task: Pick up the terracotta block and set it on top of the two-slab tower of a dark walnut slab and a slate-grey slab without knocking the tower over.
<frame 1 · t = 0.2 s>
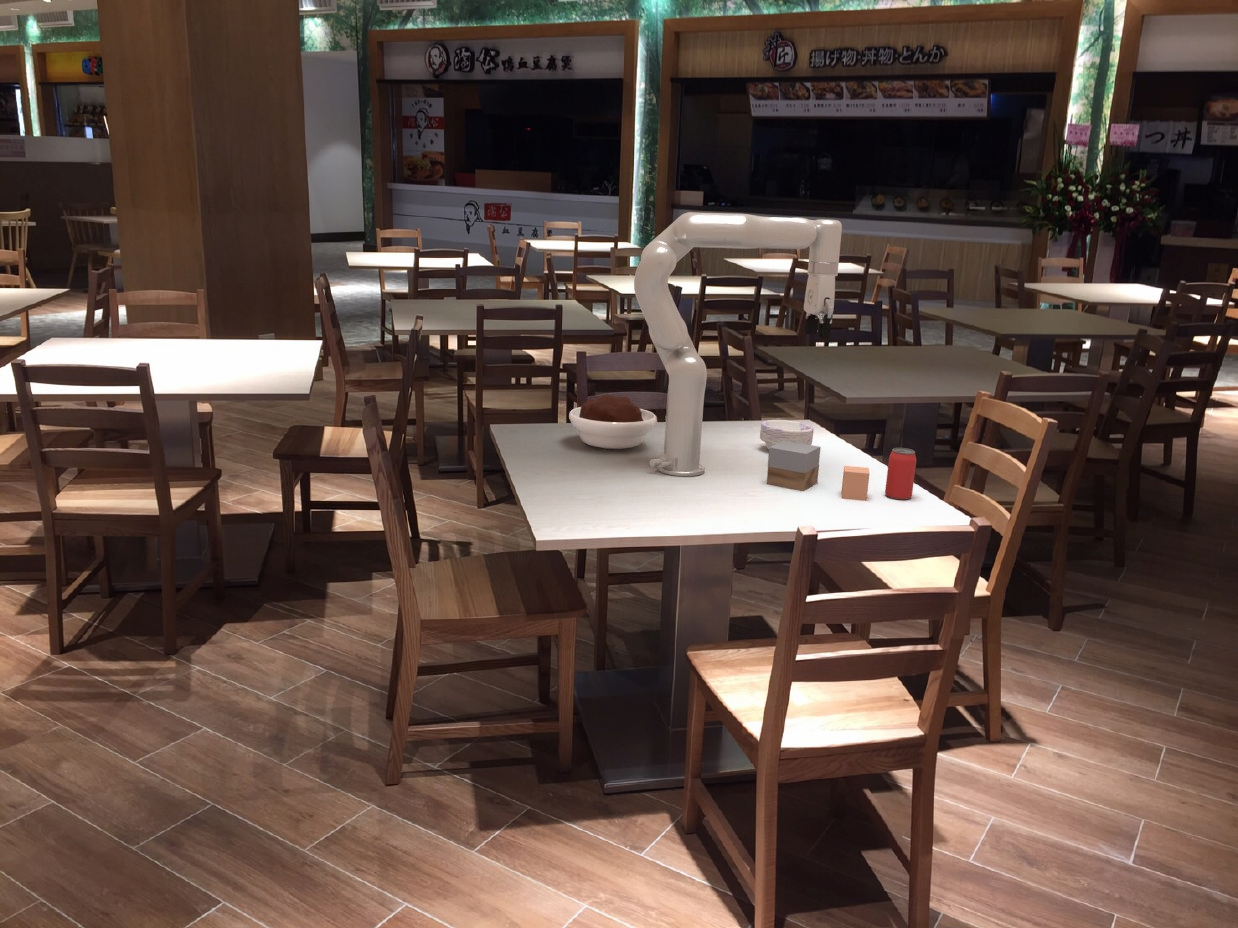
hand: (817, 336, 265), 37 cm above the table, tool pointing down, fingers open, 9 cm apart
paper bowls: (784, 451, 300), on the table
bowl of brown food: (611, 446, 296), on the table
beer can: (898, 497, 258), on the table
slate slab: (793, 465, 264), point 5 cm above the table, touching walnut slab
walnut slab: (791, 484, 265), on the table, touching slate slab
terracotta block: (853, 496, 256), on the table
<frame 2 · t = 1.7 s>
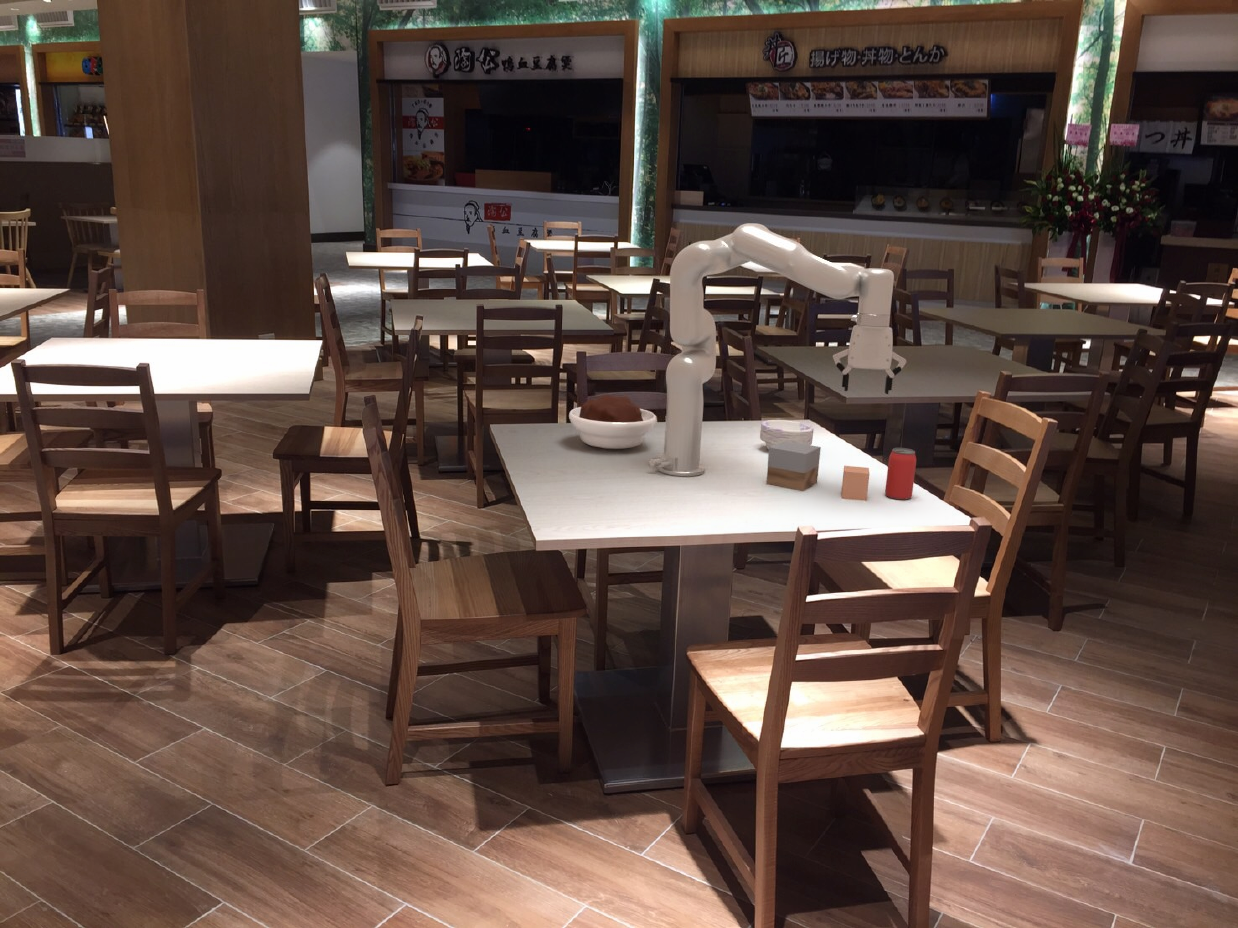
hand: (866, 391, 249), 27 cm above the table, tool pointing down, fingers open, 9 cm apart
nothing on the table moved.
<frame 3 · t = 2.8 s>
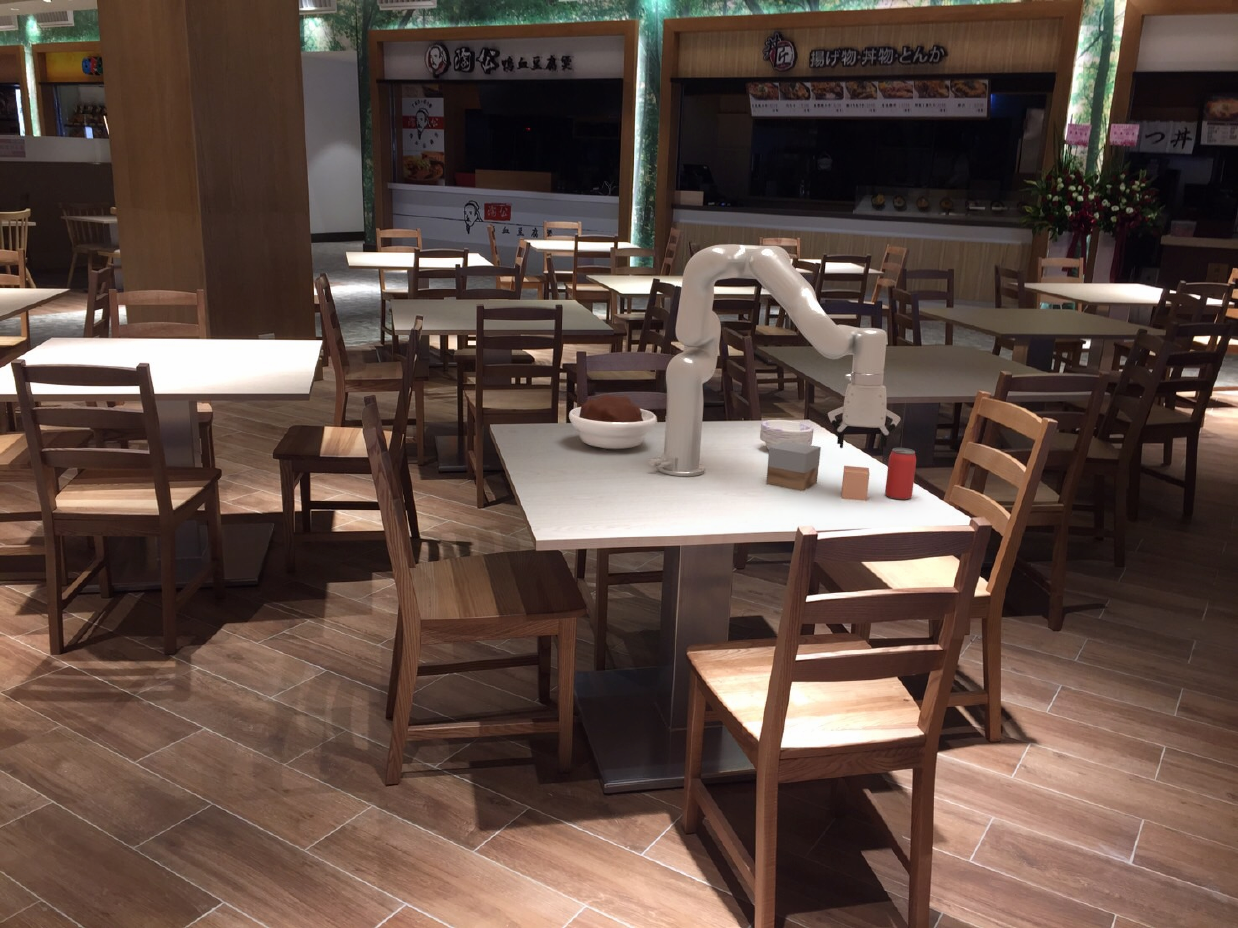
hand: (861, 448, 253), 12 cm above the table, tool pointing down, fingers open, 9 cm apart
nothing on the table moved.
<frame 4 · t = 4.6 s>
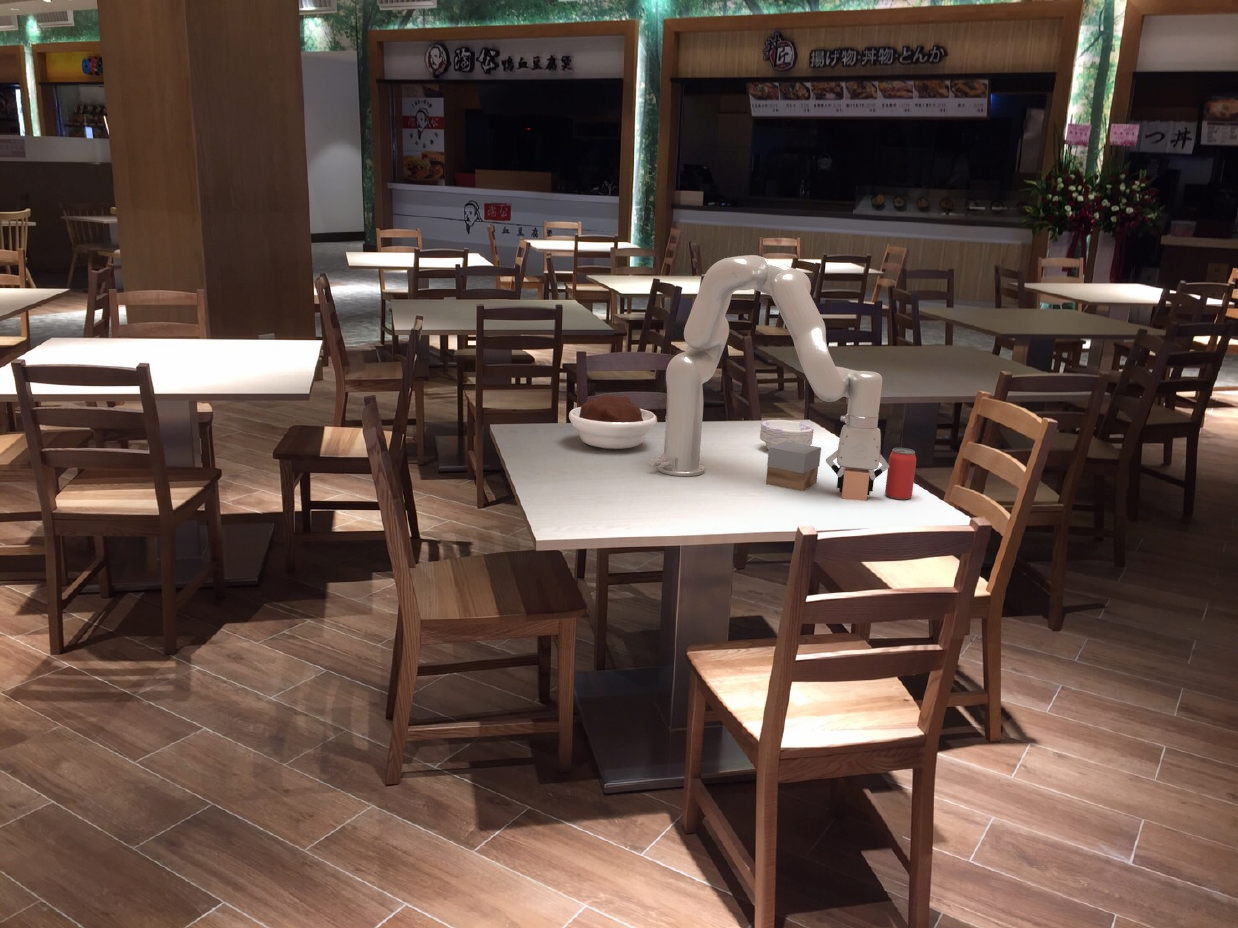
hand: (854, 491, 256), 1 cm above the table, tool pointing down, fingers closed on terracotta block, 6 cm apart
terracotta block: (853, 496, 256), on the table, touching gripper
everything else where it was.
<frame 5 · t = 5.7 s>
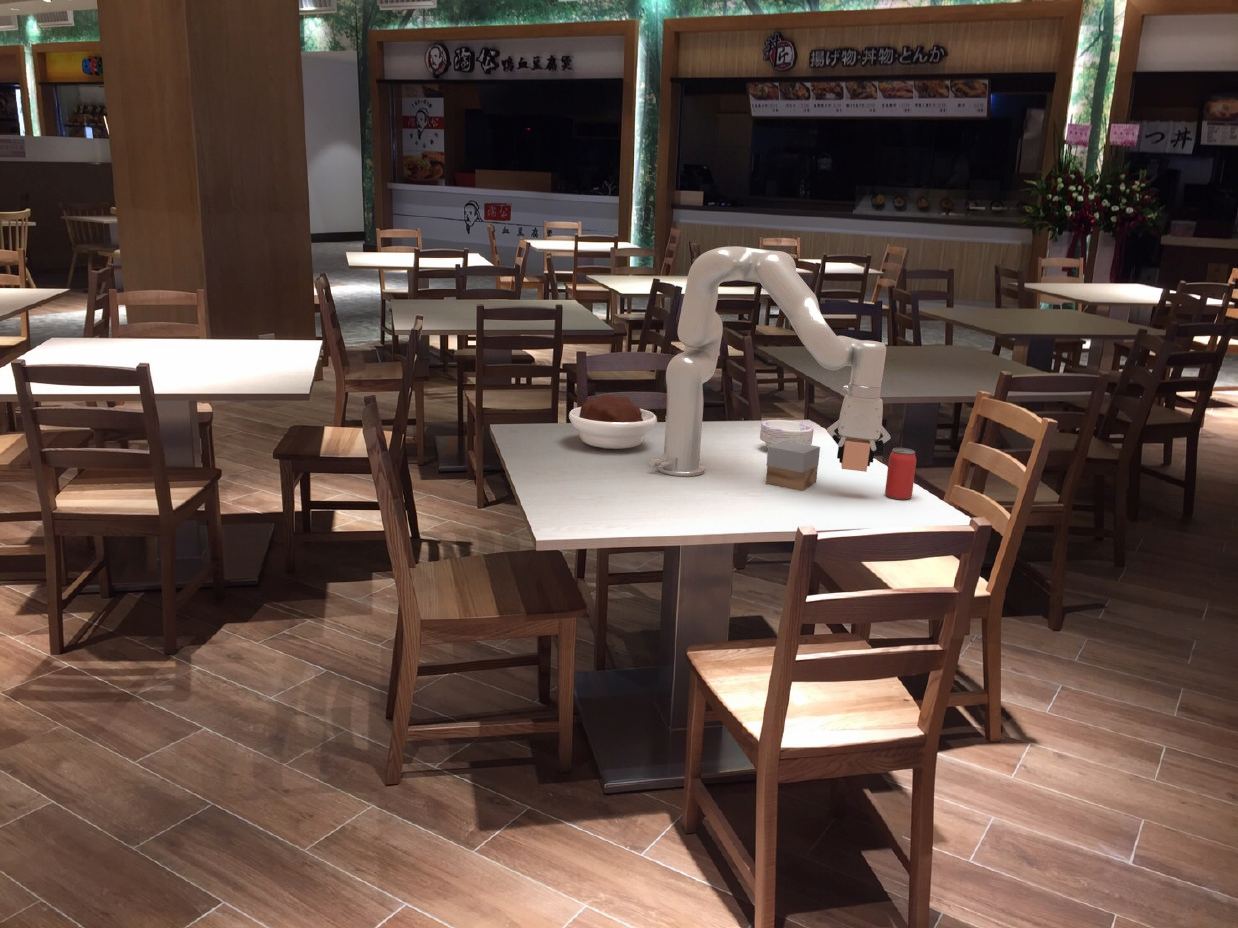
hand: (854, 462, 254), 9 cm above the table, tool pointing down, fingers closed on terracotta block, 6 cm apart
terracotta block: (853, 467, 254), point 7 cm above the table, touching gripper
everything else where it was.
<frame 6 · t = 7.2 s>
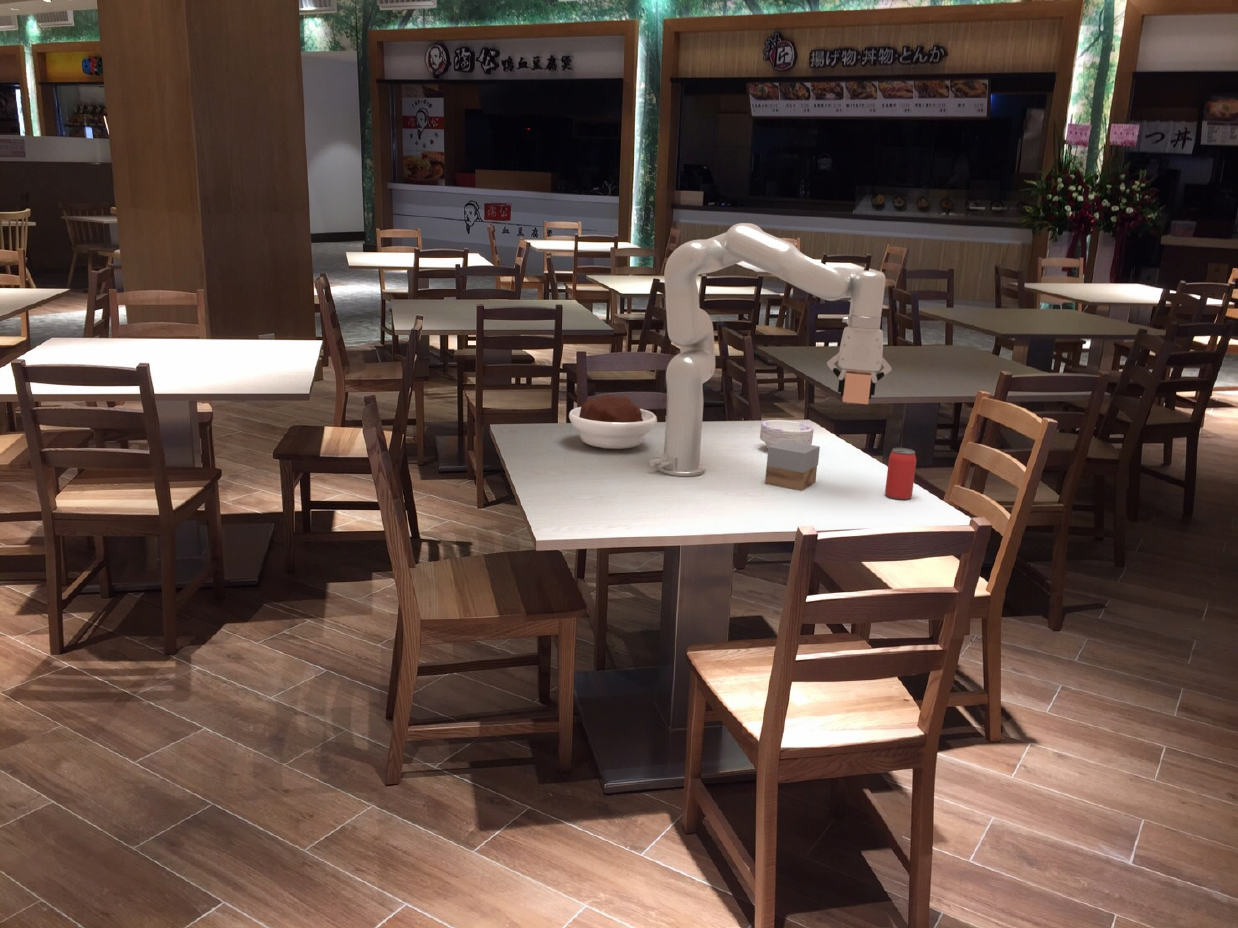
hand: (855, 396, 251), 25 cm above the table, tool pointing down, fingers closed on terracotta block, 6 cm apart
terracotta block: (855, 400, 251), point 24 cm above the table, touching gripper
everything else where it was.
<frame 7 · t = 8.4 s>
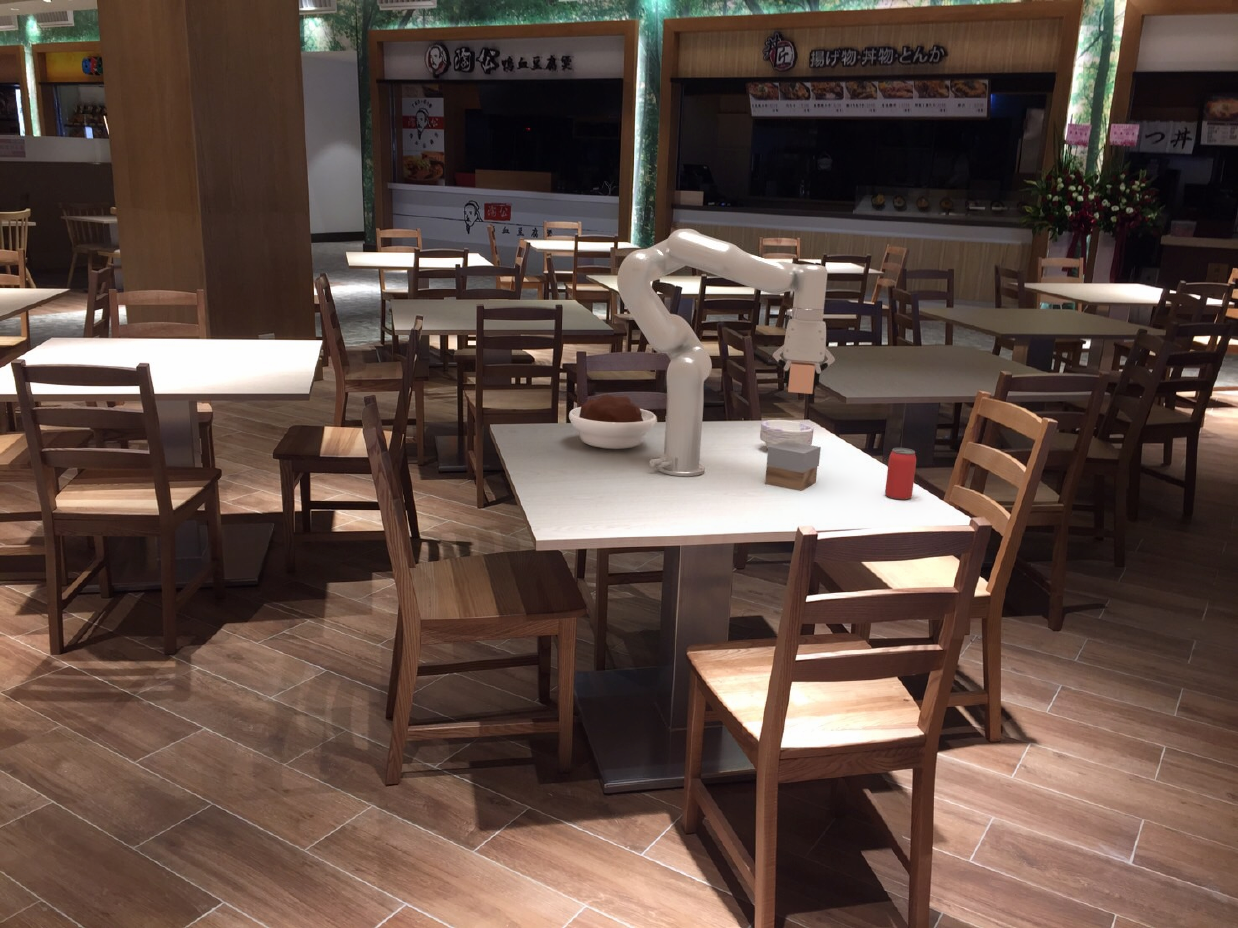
hand: (800, 386, 258), 25 cm above the table, tool pointing down, fingers closed on terracotta block, 6 cm apart
terracotta block: (800, 390, 259), point 24 cm above the table, touching gripper
everything else where it was.
when the fingers open (12 cm above the table, at t = 13.4 s): terracotta block moves 1 cm, resting on slate slab.
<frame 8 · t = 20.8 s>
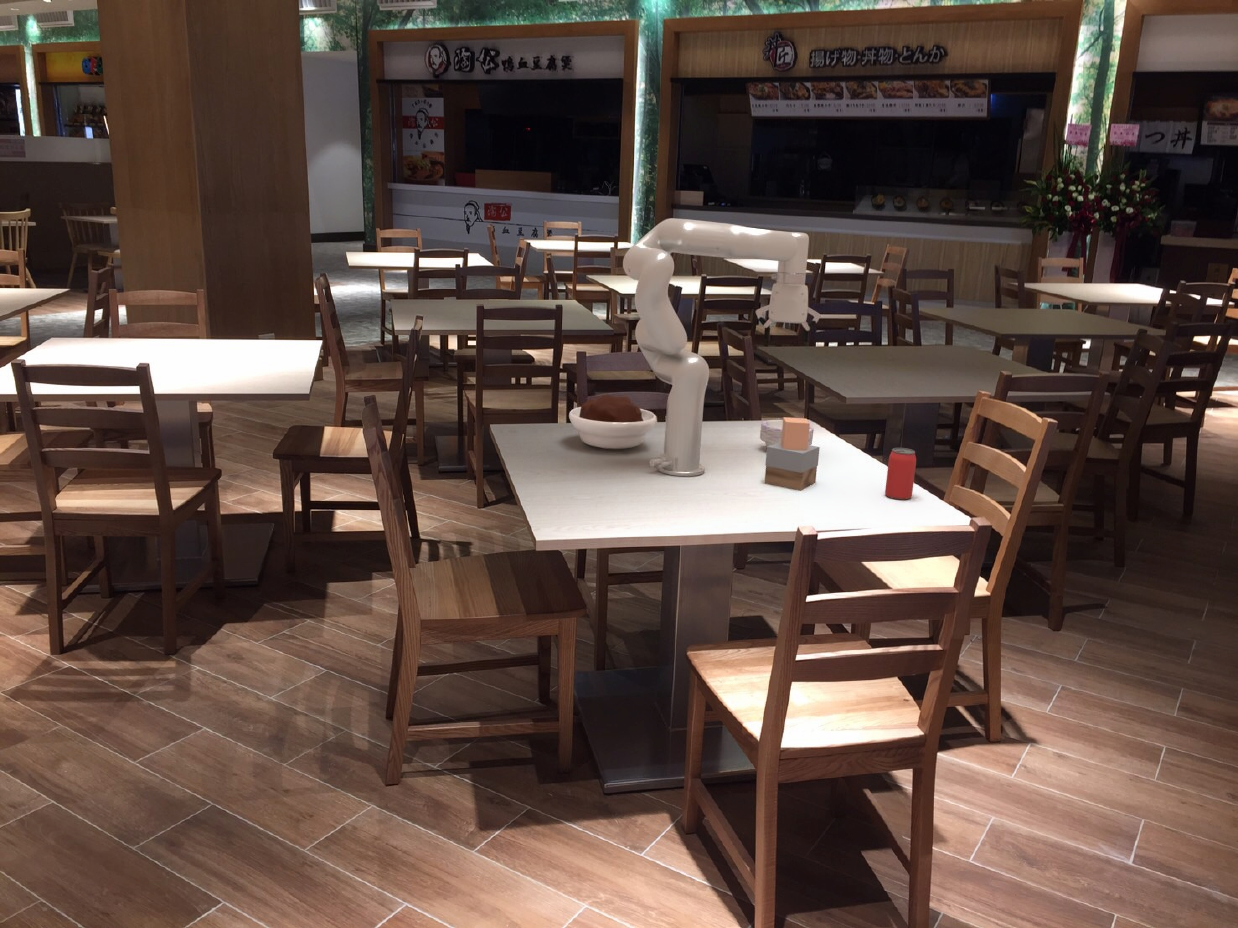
hand: (785, 343, 278), 33 cm above the table, tool pointing down, fingers open, 9 cm apart
slate slab: (791, 465, 264), point 5 cm above the table, touching terracotta block, walnut slab
terracotta block: (793, 447, 262), point 10 cm above the table, touching slate slab
everything else where it was.
at the end: terracotta block 0.3 cm off-centre on the slate slab, point 5.0 cm above the slate slab's base; terracotta block tilted 0°; slate slab moved 0.7 cm from its start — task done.
